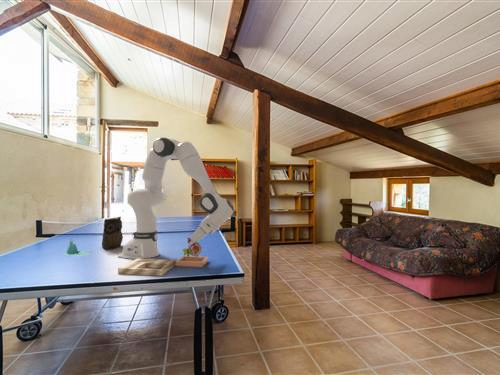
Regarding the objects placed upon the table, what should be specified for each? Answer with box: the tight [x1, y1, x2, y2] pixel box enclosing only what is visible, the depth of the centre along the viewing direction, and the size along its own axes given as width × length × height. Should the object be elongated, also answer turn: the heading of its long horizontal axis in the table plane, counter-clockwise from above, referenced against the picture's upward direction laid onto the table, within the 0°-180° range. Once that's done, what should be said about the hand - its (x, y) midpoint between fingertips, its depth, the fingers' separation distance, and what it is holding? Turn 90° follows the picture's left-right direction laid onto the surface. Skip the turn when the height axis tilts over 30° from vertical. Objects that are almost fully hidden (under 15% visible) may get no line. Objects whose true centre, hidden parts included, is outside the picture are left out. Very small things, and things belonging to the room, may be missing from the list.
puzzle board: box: [117, 258, 177, 277], centre depth 131 cm, size 21×17×3 cm
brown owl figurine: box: [101, 216, 124, 251], centre depth 175 cm, size 13×13×20 cm
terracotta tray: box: [174, 255, 209, 269], centre depth 140 cm, size 14×11×2 cm
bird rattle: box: [182, 237, 202, 257], centre depth 140 cm, size 6×11×9 cm
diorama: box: [62, 238, 93, 257], centre depth 159 cm, size 12×20×9 cm, turn 77°
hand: (191, 243), depth 140 cm, fingers closed on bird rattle, 2 cm apart
